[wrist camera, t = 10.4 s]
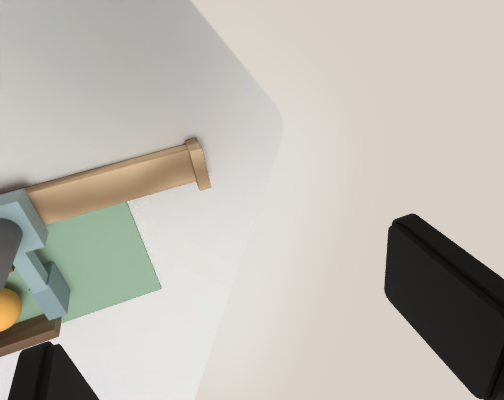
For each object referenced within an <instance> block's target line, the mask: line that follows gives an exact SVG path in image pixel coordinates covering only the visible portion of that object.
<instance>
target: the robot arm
mask: <svg viewBox="0 0 504 400" xmlns="http://www.w3.org/2000/svg"><path fill="white" fill-rule="evenodd" d="M384 290H385V293H386V296H387V298H388V300H389V301H390V302H391V303H392V304H393V305H394V307H395V308H396V309H397V310H398V311H399V312H400V313H401V314H402V315H403V317H404V318H405V319H406V320H407V321H408V322H409V323H410V325H411V326H412V327H413V328H414V329H415V330H416V331H417V332H418V334H419V335H420V336H421V337H422V338H423V339H424V340H425V341H426V343H427V344H428V345H429V346H430V347H431V348H432V349H433V350H434V351H435V353H436V354H437V355H438V356H439V357H440V358H441V359H442V360H443V361H444V363H445V364H446V365H447V366H448V367H449V368H450V369H451V370H452V372H453V373H454V374H455V375H456V376H457V377H458V378H459V380H460V381H461V382H462V383H463V384H464V385H465V386H466V387H467V388H468V390H469V391H470V392H471V393H472V394H473V395H474V396H475V397H477V398H479V399H484V400H504V279H503V278H502V277H500V276H499V275H498V274H496V273H495V272H493V271H492V270H491V269H489V268H488V267H487V266H485V265H484V264H482V263H481V262H480V261H478V260H477V259H475V258H474V257H473V256H472V255H470V254H469V253H468V252H466V251H465V250H464V249H462V248H461V247H459V246H458V245H457V244H456V243H454V242H453V241H451V240H450V239H449V238H447V237H446V236H445V235H443V234H442V233H441V232H439V231H438V230H437V229H435V228H434V227H432V226H431V225H430V224H428V223H427V222H426V221H424V220H423V219H422V218H420V217H419V216H418V215H416V214H409V215H406V216H403V217H400V218H397V219H395V220H394V221H393V222H392V226H390V227H389V230H388V243H387V258H386V272H385V286H384ZM8 400H99V399H98V397H97V396H96V394H95V393H94V392H93V390H92V389H91V387H90V386H89V384H88V383H87V382H86V380H85V379H84V377H83V376H82V375H81V373H80V372H79V370H78V369H77V367H76V366H75V365H74V363H73V362H72V360H71V359H70V358H69V356H68V355H67V353H66V352H65V350H64V349H63V348H62V346H61V345H60V344H56V345H53V344H52V343H51V342H49V341H47V342H44V343H41V344H38V345H36V346H33V347H30V348H27V349H24V350H22V351H21V352H20V355H19V358H18V362H17V366H16V370H15V373H14V377H13V381H12V385H11V389H10V393H9V397H8Z"/></svg>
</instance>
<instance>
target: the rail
mask: <svg viewBox="0 0 504 400" xmlns="http://www.w3.org/2000/svg"><path fill="white" fill-rule="evenodd" d="M195 181H196V183H197V185H198V187H199V189H200V191H201V190H204V189H208V188H211V183H210V179H209V175H208V171H207V167H206V163H205V159H204V155H203V151H202V148H201V146H200V144H199V142H198V141H197V139H196V138H193V139H189V140H186V141H185V145H181V146H178V147H174V148H170V149H167V150H163V151H159V152H155V153H152V154H148V155H144V156H141V157H137V158H133V159H130V160H126V161H122V162H118V163H115V164H111V165H107V166H104V167H100V168H96V169H93V170H89V171H85V172H81V173H78V174H74V175H70V176H67V177H63V178H59V179H56V180H52V181H48V182H44V183H41V184H37V185H33V186H30V187H26V188H22V189H24V190H25V192H26V194H27V196H28V197H29V199H30V201H31V203H32V204H33V206H34V208H35V209H36V211H37V213H38V215H39V216H40V218H41V220H42V222H43V223H44V225H47V224H51V223H54V222H58V221H61V220H64V219H68V218H71V217H75V216H78V215H82V214H85V213H88V212H92V211H95V210H99V209H102V208H106V207H109V206H112V205H116V204H119V203H123V202H126V201H130V200H133V199H136V198H140V197H143V196H147V195H150V194H154V193H157V192H160V191H164V190H167V189H171V188H174V187H178V186H181V185H184V184H188V183H191V182H195ZM18 190H19V189H18ZM15 191H16V190H15ZM11 192H12V191H11ZM7 193H8V192H7ZM4 194H5V193H4ZM0 195H1V194H0Z"/></svg>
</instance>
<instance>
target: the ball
mask: <svg viewBox="0 0 504 400" xmlns="http://www.w3.org/2000/svg"><path fill="white" fill-rule="evenodd" d="M21 311H22V302H21V299H20V297H19V296H18V295H17V293H15V292H14V291H12V290H10V289H7V288H3V289H2V290H1V291H0V332H1V331H4V330H6V329H8V328H9V327H11V326H12V325H13V324H14V323H15V322H16V321H17V320H18V318H19V316H20V314H21Z"/></svg>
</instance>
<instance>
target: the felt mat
mask: <svg viewBox="0 0 504 400" xmlns="http://www.w3.org/2000/svg"><path fill="white" fill-rule="evenodd" d="M45 227H46V229H47V230H48V232H49V233H48V237H47V241H46V244H45V247H42V248H39V249H36V250H33V251H34V252H35V254H36V256H37V257H38V259H39V260H40V262H41V264H42V265H44V264H47V263H50V262H54V264H55V266H56V267H57V269H58V271H59V272H60V274H61V276H62V277H63V279H64V281H65V282H66V284H67V285H68V287H69V289H70V290H71V292H70V299H69V306H68V313H67V315H64V316H62V319H61V323H63V322H66V321H69V320H72V319H75V318H78V317H81V316H84V315H87V314H90V313H92V312H95V311H98V310H101V309H104V308H107V307H110V306H113V305H116V304H119V303H121V302H124V301H127V300H130V299H133V298H136V297H139V296H142V295H145V294H148V293H151V292H153V291H156V290H159V289H161V286H160V284H159V281H158V279H157V276H156V274H155V271H154V269H153V266H152V264H151V261H150V259H149V256H148V254H147V252H146V249H145V247H144V244H143V242H142V239H141V237H140V234H139V232H138V229H137V227H136V224H135V222H134V220H133V217H132V215H131V212H130V210H129V207H128V205H127V202H123V203H119V204H116V205H112V206H109V207H106V208H102V209H99V210H95V211H92V212H88V213H85V214H82V215H78V216H75V217H71V218H68V219H64V220H61V221H58V222H54V223H51V224H47V225H45ZM4 288H7V289H10V290H12V291H14V292H15V293H17V295H18V296H19V297H20V299H21V302H22V311H21V314H20V316H19V318H18V320H17V321H16V322H15V323H18V322H21V321H24V320H27V319H30V318H33V317H36V316H39V315H42V314H44V312H43V311H42V309H41V308H40V307H39V305H38V304H37V302H36V301H35V299H34V298H33V296H32V295H31V294H30V292H29V287H28V285H27V284H26V282H25V281H24V280H23V278H22V277H21V275H20V274H19V272H18V271H17V269H16V268H15V269H14V272H10V273H9V276H8V279H7V281H6V284H5V286H4ZM15 323H14V324H15Z"/></svg>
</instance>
